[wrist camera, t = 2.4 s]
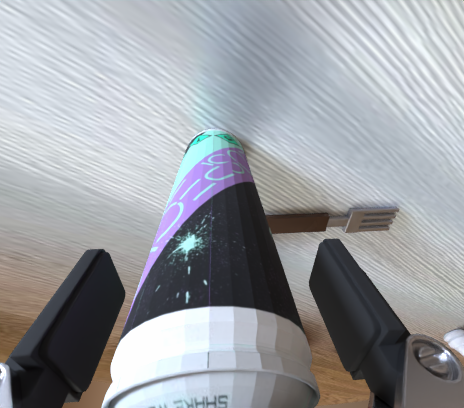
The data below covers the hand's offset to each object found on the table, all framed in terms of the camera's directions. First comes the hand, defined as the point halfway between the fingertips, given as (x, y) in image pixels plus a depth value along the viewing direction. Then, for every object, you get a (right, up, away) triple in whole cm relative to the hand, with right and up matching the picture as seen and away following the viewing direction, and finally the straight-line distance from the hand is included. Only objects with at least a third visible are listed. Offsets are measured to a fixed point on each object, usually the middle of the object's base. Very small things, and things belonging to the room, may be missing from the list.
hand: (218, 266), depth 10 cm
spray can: (-1, +7, +10) cm, 13 cm away
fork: (+11, +1, +15) cm, 19 cm away
